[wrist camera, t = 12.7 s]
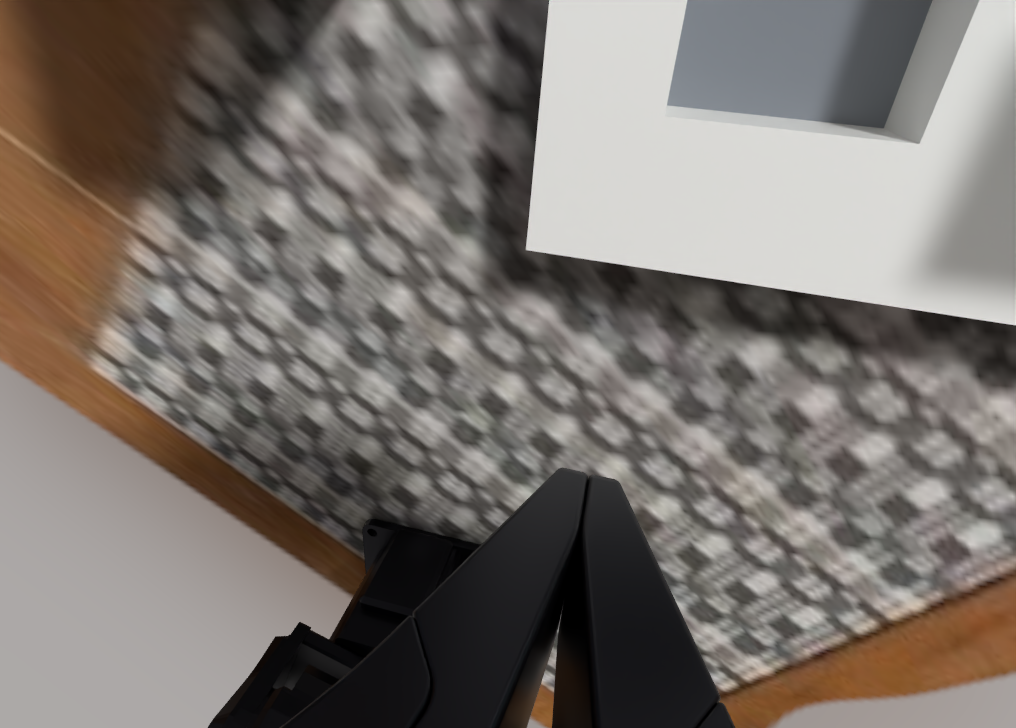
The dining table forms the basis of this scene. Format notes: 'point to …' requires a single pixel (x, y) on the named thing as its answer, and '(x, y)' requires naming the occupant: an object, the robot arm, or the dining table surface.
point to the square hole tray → (786, 145)
